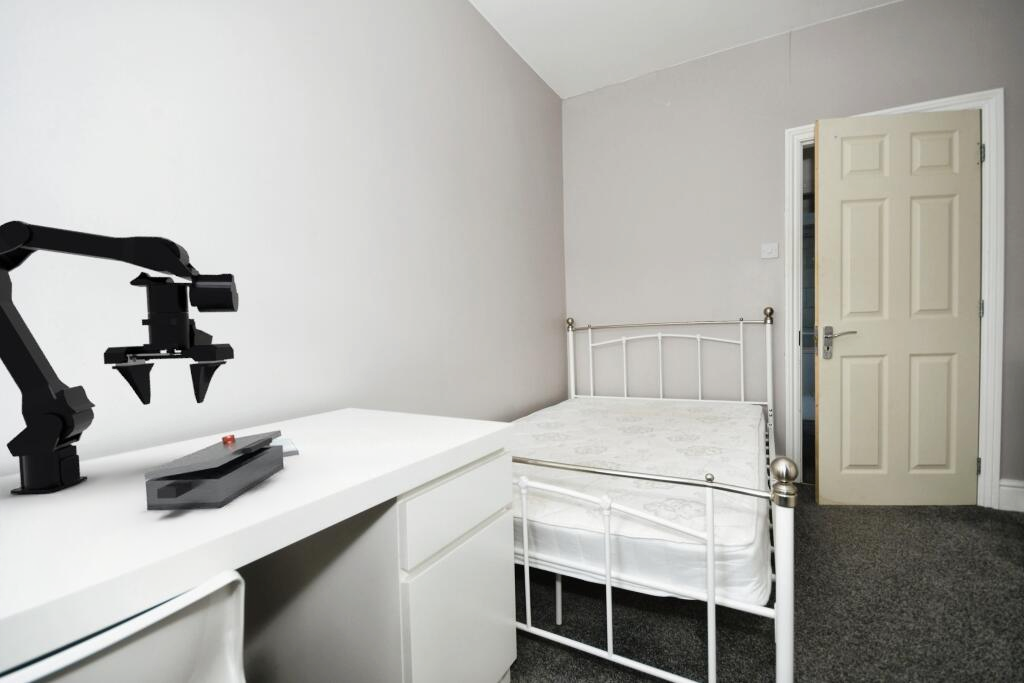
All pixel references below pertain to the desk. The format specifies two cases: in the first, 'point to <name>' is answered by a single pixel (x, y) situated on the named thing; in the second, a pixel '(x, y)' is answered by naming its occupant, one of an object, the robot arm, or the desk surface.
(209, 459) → the box lid
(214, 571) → the desk surface
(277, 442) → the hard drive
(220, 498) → the grey hinged box
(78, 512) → the desk surface
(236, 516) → the desk surface
